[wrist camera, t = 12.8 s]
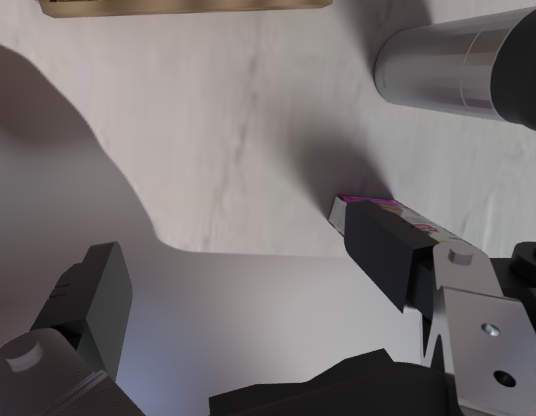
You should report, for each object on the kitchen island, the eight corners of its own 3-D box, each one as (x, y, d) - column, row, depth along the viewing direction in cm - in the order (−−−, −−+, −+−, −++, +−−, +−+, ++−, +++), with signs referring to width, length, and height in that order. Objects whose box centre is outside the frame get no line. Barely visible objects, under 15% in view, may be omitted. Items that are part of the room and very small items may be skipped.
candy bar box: (396, 197, 50) (485, 250, 35) (386, 225, 52) (467, 286, 37) (334, 191, 47) (405, 247, 32) (326, 222, 48) (389, 287, 34)
